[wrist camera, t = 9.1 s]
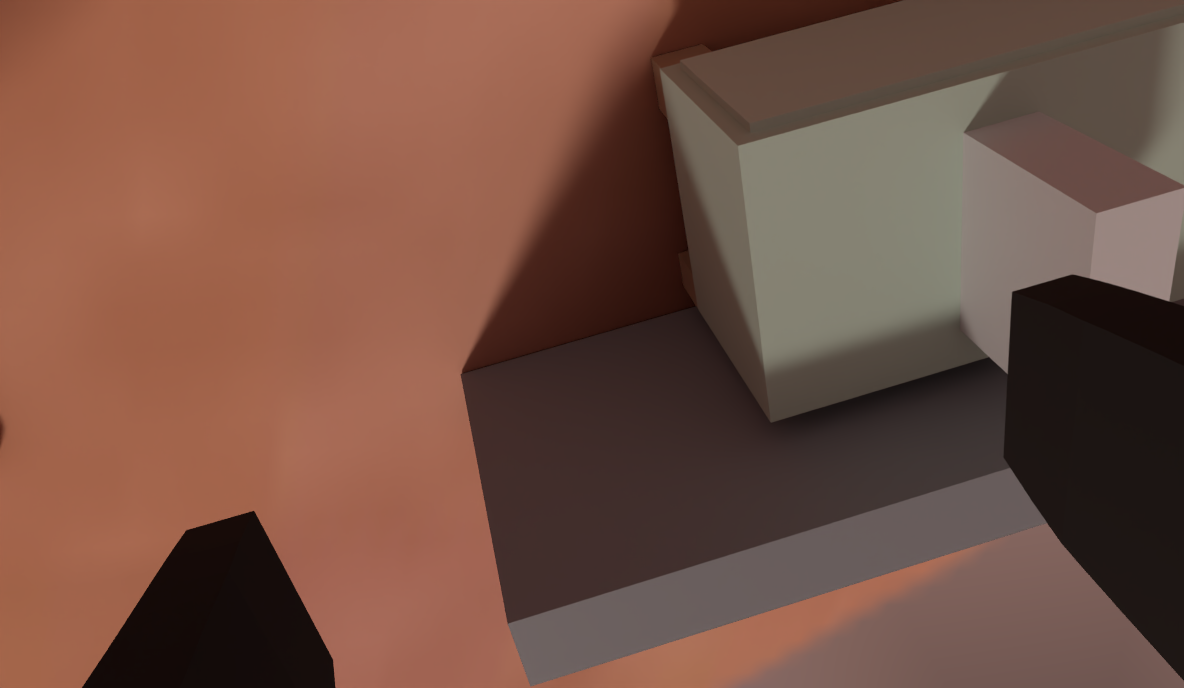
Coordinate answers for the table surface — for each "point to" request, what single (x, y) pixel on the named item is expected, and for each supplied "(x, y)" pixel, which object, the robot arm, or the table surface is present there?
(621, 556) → the wall board
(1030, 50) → the grey block
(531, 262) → the table surface
